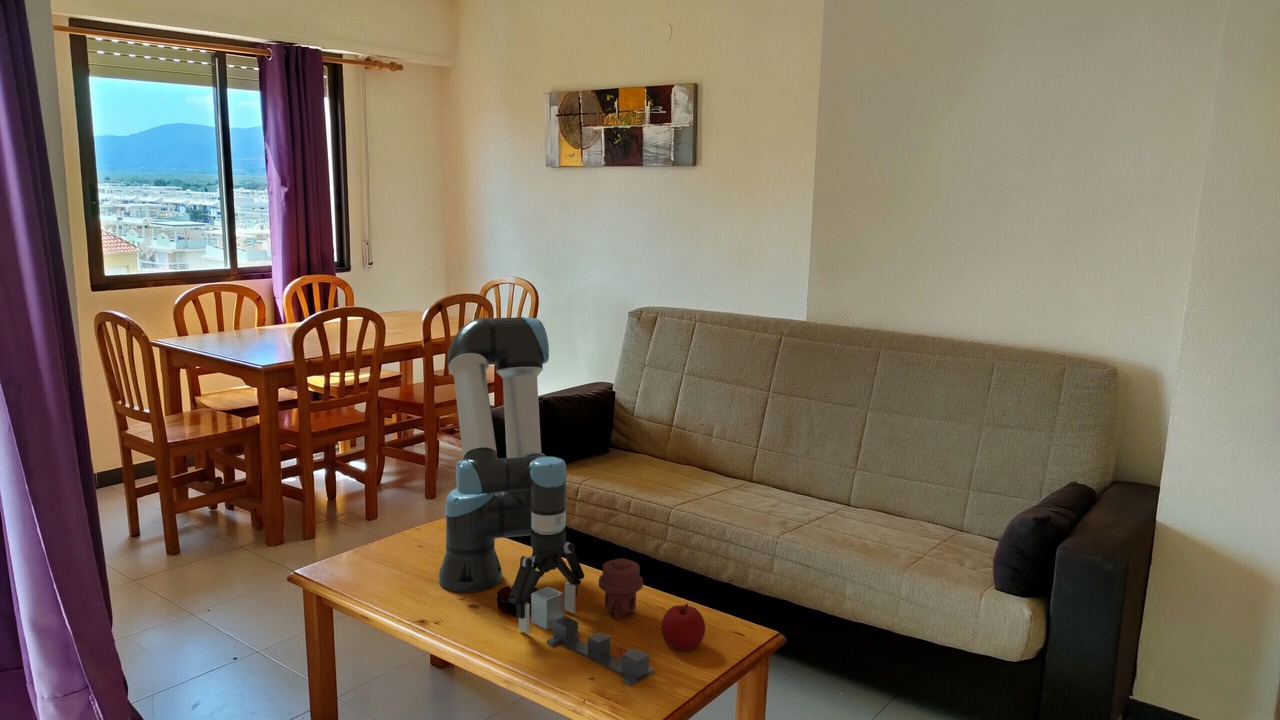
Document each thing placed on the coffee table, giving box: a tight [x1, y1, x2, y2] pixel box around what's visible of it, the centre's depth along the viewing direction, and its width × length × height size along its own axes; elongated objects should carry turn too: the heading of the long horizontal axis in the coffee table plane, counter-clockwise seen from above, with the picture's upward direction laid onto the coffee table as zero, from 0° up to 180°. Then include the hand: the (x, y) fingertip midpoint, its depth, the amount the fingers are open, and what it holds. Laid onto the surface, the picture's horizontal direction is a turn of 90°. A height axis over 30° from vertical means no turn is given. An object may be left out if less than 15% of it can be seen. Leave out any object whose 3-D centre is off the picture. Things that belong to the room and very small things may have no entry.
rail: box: [546, 615, 655, 687], centre depth 185 cm, size 24×7×4 cm, turn 48°
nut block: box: [530, 586, 565, 631], centre depth 199 cm, size 5×5×7 cm
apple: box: [660, 603, 706, 652], centre depth 190 cm, size 9×9×10 cm
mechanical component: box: [598, 558, 644, 620], centre depth 205 cm, size 12×10×10 cm
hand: (547, 620), depth 200 cm, fingers open, 13 cm apart
